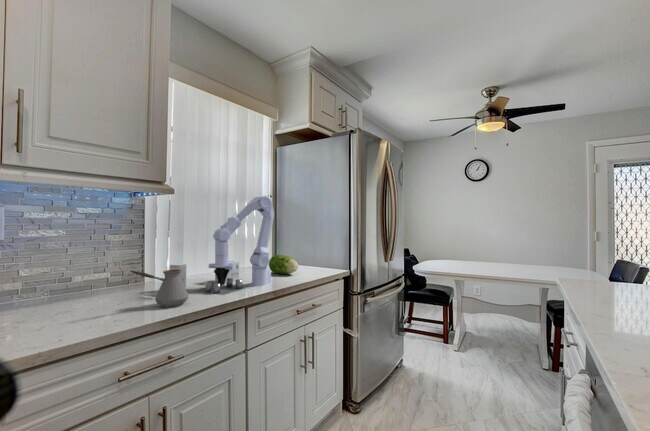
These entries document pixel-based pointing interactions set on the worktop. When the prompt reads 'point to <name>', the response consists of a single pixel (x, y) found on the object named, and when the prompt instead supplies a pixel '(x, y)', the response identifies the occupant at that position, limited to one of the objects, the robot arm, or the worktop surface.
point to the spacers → (216, 286)
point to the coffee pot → (169, 288)
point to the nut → (210, 281)
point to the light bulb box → (232, 271)
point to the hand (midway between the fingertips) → (221, 284)
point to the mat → (222, 290)
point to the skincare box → (182, 273)
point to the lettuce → (282, 264)
